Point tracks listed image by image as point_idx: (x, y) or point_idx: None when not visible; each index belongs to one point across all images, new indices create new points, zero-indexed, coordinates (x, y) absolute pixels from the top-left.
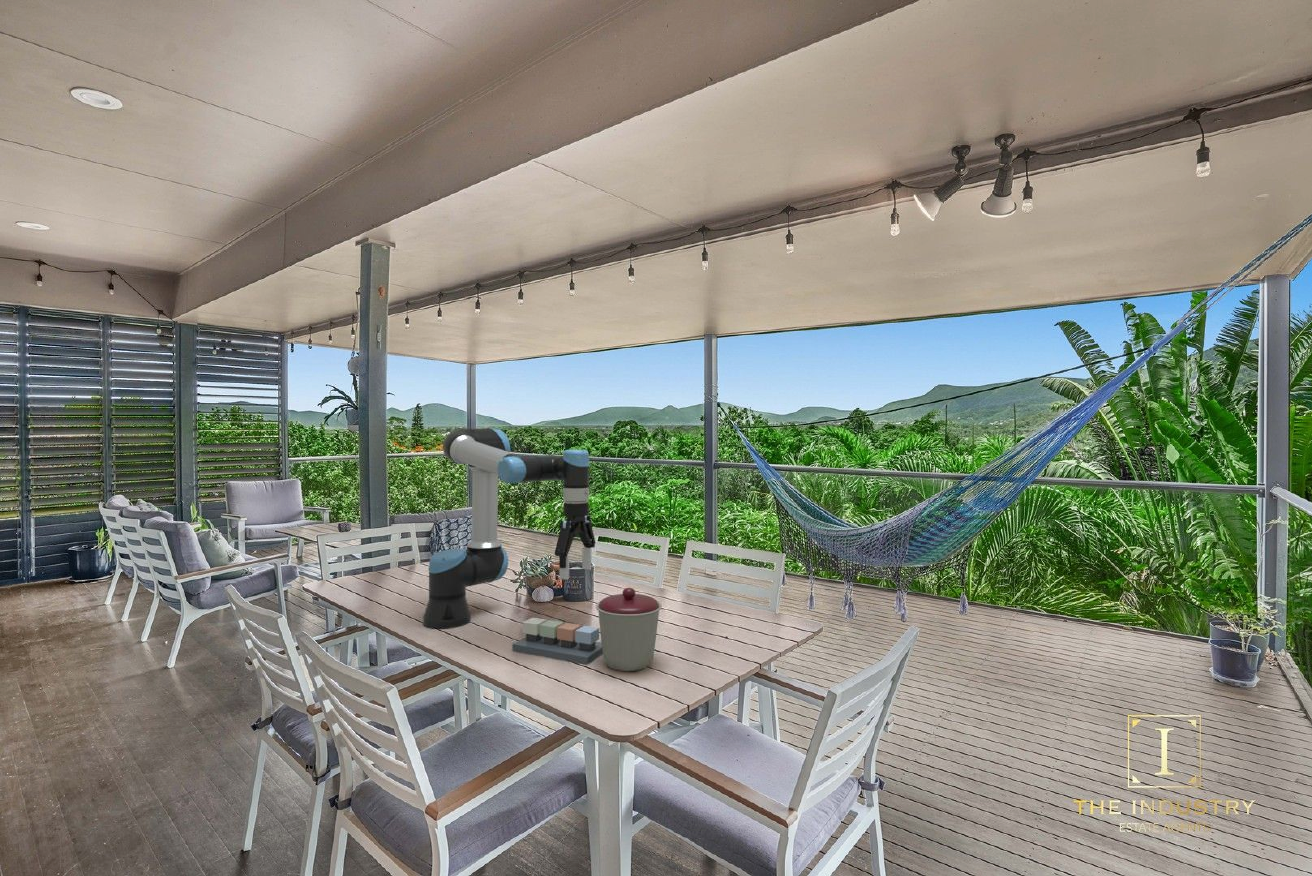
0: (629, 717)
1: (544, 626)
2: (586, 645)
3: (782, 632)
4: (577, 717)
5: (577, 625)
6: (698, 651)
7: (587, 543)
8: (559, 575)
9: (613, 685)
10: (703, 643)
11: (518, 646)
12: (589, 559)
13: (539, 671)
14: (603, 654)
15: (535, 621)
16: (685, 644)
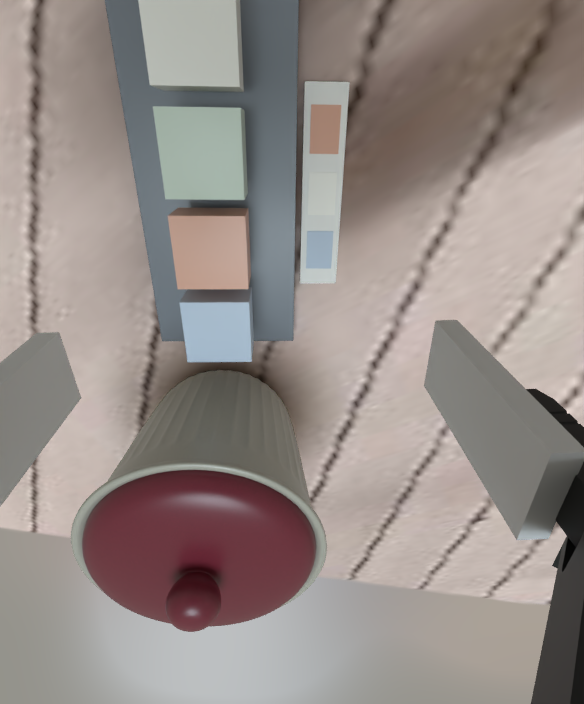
0: (10, 503)
1: (158, 139)
2: None
3: (531, 583)
4: None
5: (236, 278)
6: (370, 501)
7: (561, 580)
8: (21, 346)
9: (103, 433)
10: (425, 496)
11: (110, 20)
12: (457, 435)
13: (40, 230)
14: (171, 391)
15: (184, 41)
16: (407, 469)
